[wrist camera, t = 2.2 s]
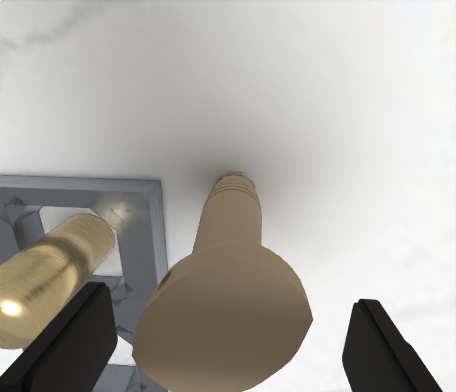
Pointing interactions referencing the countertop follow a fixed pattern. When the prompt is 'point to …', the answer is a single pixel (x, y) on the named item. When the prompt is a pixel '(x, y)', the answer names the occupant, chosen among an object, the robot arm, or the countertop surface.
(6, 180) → the bolt plate
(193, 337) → the handle
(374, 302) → the robot arm
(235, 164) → the countertop surface
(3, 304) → the brass pin
